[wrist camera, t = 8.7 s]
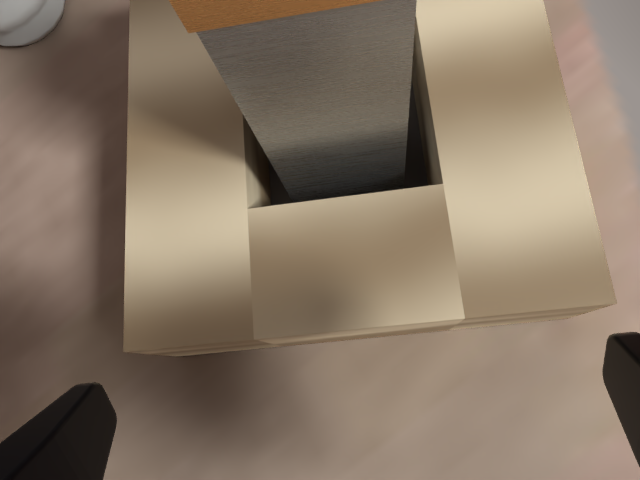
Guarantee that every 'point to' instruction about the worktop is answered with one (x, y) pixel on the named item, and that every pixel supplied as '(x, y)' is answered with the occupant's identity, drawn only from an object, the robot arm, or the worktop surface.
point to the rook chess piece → (28, 20)
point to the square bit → (317, 85)
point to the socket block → (358, 199)
